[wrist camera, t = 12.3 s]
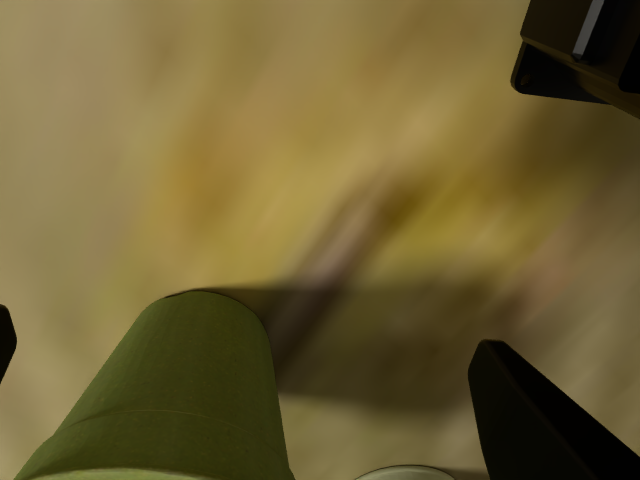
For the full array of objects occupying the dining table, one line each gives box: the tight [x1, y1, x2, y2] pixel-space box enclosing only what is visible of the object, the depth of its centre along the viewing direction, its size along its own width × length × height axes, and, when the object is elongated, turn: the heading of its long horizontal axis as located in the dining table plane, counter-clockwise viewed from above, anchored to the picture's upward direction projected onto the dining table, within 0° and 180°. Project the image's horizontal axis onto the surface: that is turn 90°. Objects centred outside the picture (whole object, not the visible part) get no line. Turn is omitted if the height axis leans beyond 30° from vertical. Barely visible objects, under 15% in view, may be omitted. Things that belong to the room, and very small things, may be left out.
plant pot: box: [14, 291, 295, 480], centre depth 21 cm, size 12×12×11 cm
